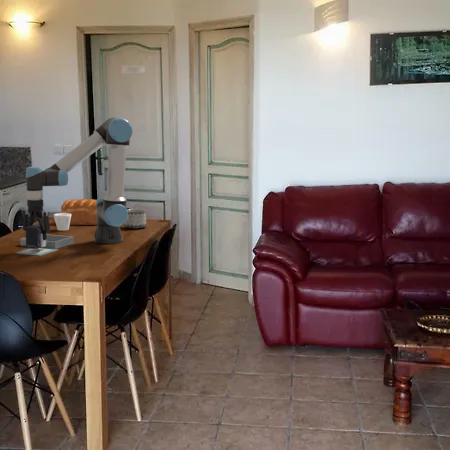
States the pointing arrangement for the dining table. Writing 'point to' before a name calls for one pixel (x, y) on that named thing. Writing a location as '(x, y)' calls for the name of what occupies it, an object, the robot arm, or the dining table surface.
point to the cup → (62, 221)
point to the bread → (81, 211)
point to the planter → (136, 219)
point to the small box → (33, 237)
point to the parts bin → (53, 241)
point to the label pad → (37, 251)
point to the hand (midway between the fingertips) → (37, 245)
